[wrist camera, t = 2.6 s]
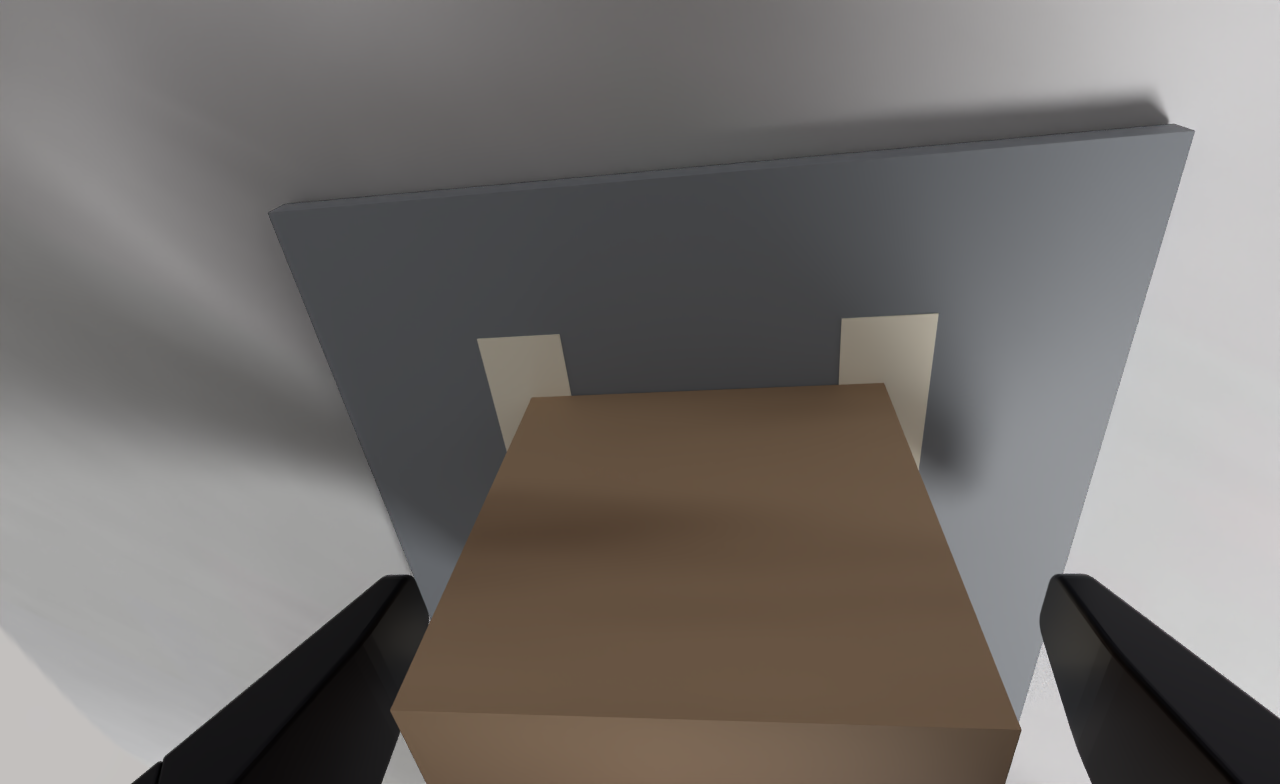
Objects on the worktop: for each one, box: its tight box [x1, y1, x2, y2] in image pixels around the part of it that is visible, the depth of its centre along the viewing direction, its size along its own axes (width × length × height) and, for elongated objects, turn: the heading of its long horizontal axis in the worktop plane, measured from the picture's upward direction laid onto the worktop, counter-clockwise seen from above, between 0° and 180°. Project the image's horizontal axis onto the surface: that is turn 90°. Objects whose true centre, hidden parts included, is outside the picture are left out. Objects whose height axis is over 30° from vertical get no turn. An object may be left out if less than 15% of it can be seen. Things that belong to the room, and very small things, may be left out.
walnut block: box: [390, 383, 1021, 784], centre depth 9 cm, size 5×5×5 cm
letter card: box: [268, 124, 1195, 722], centre depth 11 cm, size 11×11×1 cm
